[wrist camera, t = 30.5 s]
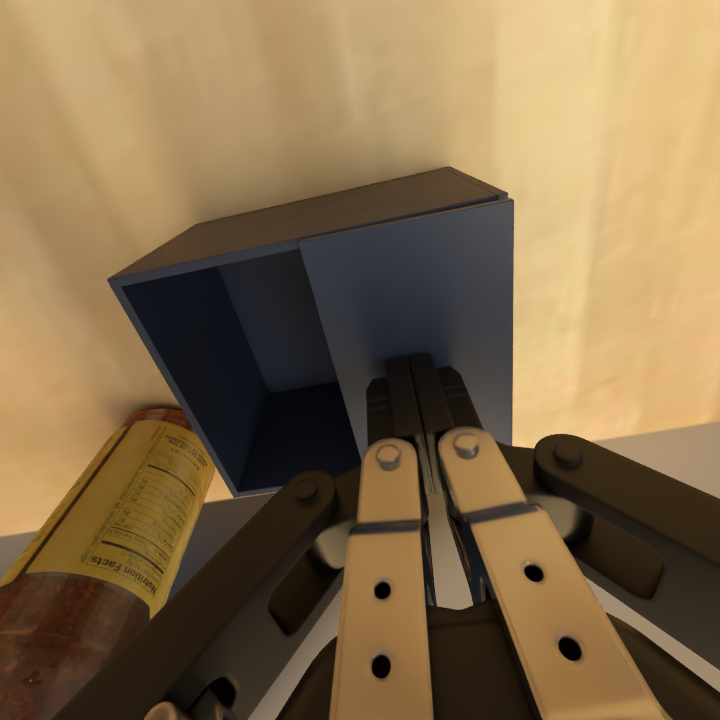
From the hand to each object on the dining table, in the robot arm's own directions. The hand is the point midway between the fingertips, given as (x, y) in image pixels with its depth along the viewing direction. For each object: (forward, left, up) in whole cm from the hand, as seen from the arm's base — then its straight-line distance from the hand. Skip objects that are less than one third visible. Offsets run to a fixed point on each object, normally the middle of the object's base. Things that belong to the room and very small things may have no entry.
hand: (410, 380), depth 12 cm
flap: (0, 0, 0) cm, 1 cm away
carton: (0, -2, -8) cm, 8 cm away
